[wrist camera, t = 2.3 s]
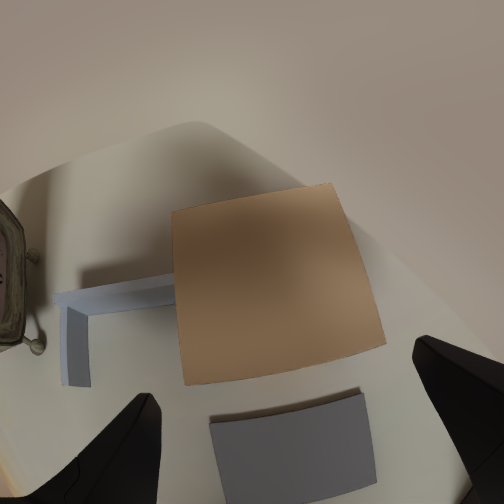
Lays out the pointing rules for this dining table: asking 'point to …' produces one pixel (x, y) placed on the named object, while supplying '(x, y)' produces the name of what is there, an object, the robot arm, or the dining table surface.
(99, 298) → the shelf
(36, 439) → the dining table surface
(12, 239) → the tabletop clock
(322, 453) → the rubber mat
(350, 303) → the oak block
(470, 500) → the phone stand
